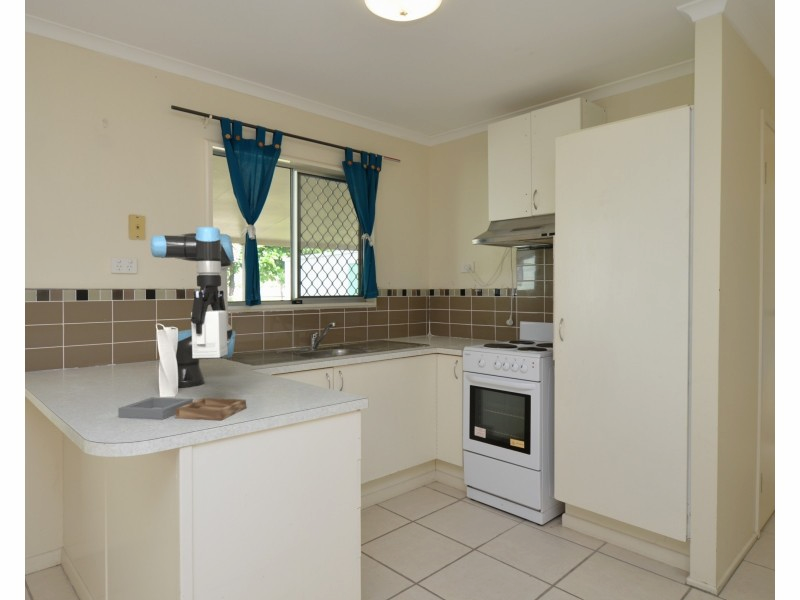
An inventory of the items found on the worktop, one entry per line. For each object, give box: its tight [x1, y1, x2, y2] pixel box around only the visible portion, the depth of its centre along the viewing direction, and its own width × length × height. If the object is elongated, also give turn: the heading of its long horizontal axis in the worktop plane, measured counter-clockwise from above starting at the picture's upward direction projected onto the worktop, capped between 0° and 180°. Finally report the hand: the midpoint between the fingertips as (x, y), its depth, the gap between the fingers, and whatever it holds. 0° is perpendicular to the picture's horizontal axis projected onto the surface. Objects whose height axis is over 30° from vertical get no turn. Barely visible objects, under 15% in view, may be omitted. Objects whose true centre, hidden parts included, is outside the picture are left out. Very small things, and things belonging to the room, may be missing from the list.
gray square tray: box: [117, 397, 194, 420], centre depth 170 cm, size 16×16×3 cm
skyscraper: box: [155, 323, 179, 398], centre depth 195 cm, size 8×8×28 cm
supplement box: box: [190, 311, 228, 359], centre depth 167 cm, size 9×9×15 cm
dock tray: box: [174, 397, 247, 421], centre depth 168 cm, size 16×16×3 cm
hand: (210, 342), depth 167 cm, fingers closed on supplement box, 10 cm apart
